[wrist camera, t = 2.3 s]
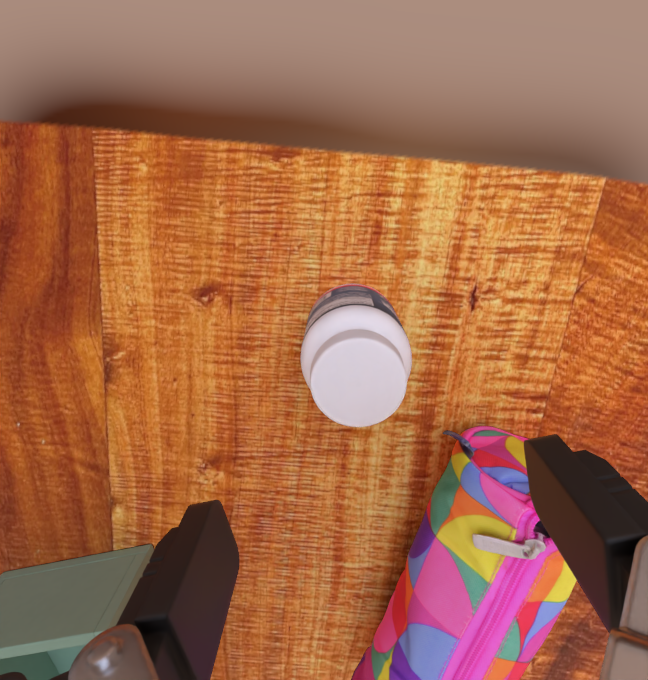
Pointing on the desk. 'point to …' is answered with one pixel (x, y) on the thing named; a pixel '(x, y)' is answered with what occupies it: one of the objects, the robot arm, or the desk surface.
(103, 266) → the desk surface
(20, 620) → the bin
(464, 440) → the pencil case
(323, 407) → the pill bottle
